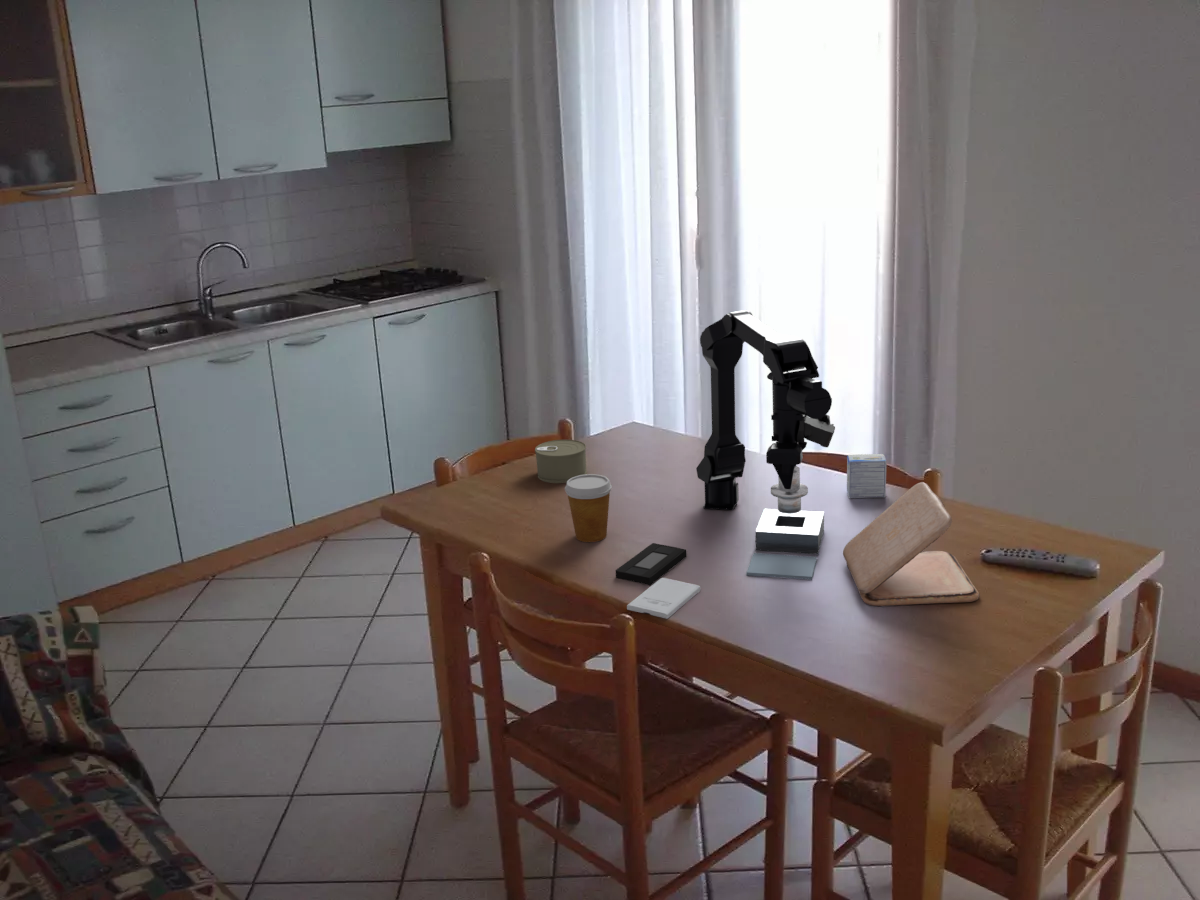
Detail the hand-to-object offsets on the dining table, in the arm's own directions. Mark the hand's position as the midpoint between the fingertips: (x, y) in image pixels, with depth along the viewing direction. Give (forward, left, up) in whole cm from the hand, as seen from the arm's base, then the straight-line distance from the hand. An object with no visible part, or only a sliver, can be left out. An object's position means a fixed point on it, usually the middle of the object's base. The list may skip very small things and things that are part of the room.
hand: (789, 485), depth 218 cm
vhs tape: (-25, -12, -14) cm, 31 cm away
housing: (0, +5, -14) cm, 14 cm away
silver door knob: (0, 0, -5) cm, 5 cm away
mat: (0, -8, -14) cm, 16 cm away
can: (-58, +36, -14) cm, 69 cm away
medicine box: (+13, +32, -14) cm, 37 cm away
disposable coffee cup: (-40, +1, -14) cm, 43 cm away
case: (+23, -10, -14) cm, 29 cm away
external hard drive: (-19, -25, -14) cm, 35 cm away
